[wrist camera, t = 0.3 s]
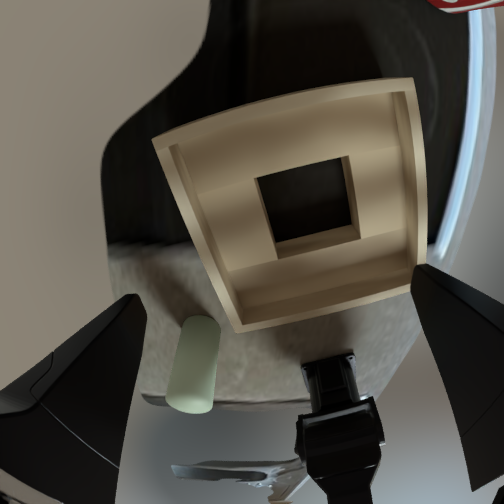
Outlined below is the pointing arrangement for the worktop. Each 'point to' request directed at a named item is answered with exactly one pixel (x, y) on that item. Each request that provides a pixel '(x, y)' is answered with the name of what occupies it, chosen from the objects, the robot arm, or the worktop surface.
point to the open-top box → (290, 156)
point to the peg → (195, 366)
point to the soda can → (464, 5)
